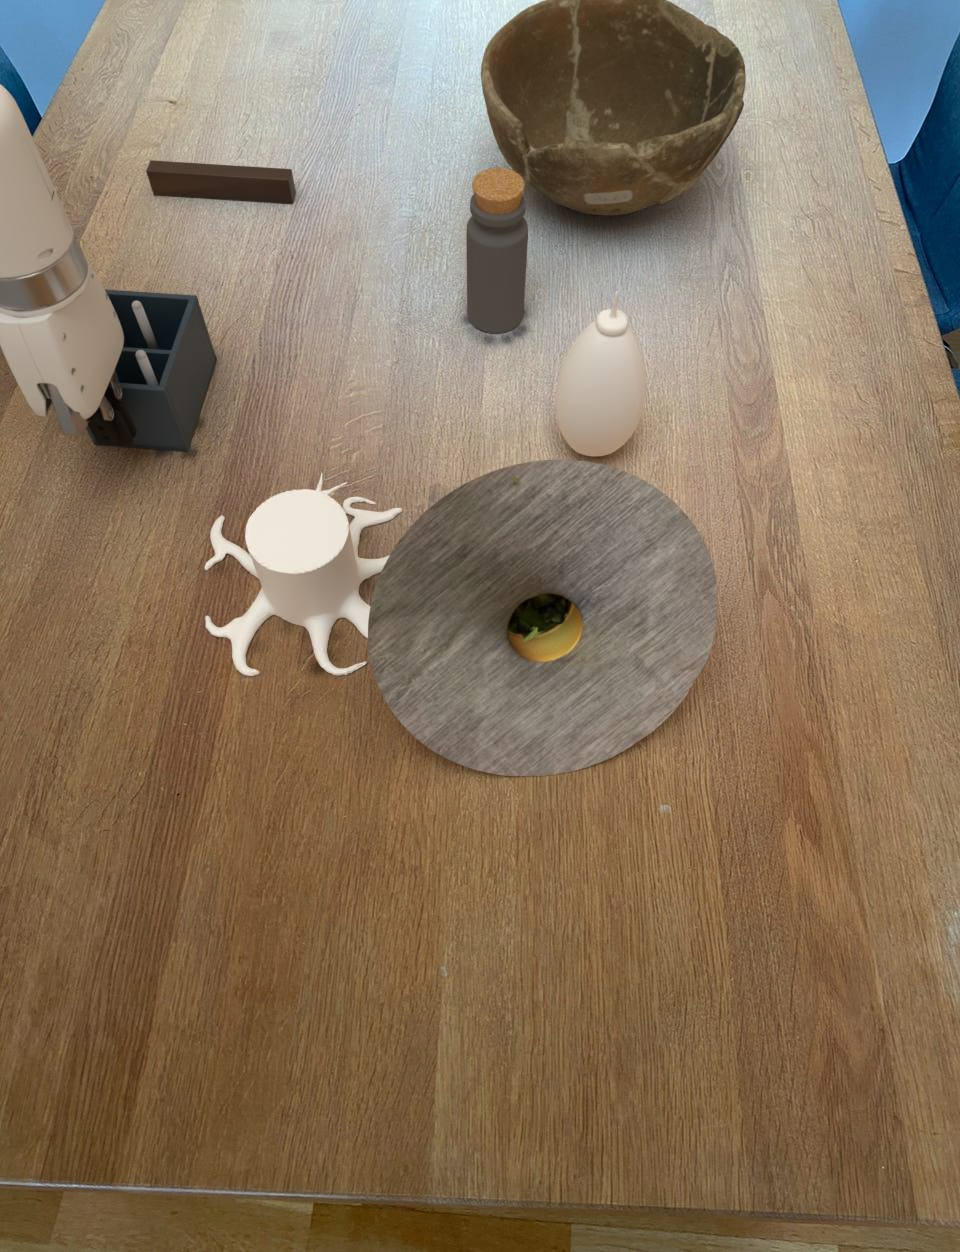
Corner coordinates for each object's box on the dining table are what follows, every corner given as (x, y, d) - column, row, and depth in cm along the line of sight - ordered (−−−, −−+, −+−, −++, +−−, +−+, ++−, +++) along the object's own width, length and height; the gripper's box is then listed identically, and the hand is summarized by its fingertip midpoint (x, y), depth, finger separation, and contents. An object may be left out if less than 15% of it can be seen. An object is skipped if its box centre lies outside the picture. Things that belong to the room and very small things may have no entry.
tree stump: (446, 513, 85) (443, 454, 78) (392, 704, 75) (384, 657, 68) (234, 476, 87) (213, 416, 80) (156, 658, 77) (124, 608, 70)
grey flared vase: (689, 678, 84) (657, 400, 76) (746, 771, 68) (714, 429, 60) (416, 726, 85) (356, 456, 77) (406, 829, 69) (328, 500, 61)
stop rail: (292, 204, 106) (288, 180, 103) (153, 195, 107) (145, 171, 104) (296, 192, 107) (291, 168, 104) (158, 184, 108) (150, 160, 105)
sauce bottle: (639, 475, 87) (675, 324, 71) (555, 479, 87) (572, 329, 71) (626, 411, 91) (658, 255, 75) (546, 415, 91) (561, 259, 75)
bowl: (651, 308, 98) (678, 177, 85) (435, 218, 105) (429, 85, 92) (757, 167, 110) (795, 33, 97) (556, 95, 117) (566, -39, 104)
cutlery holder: (188, 451, 88) (158, 378, 80) (94, 445, 88) (55, 371, 80) (217, 359, 94) (192, 282, 86) (129, 353, 94) (96, 276, 86)
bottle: (527, 298, 99) (535, 166, 86) (518, 337, 96) (525, 207, 83) (472, 291, 99) (472, 159, 86) (462, 330, 96) (460, 200, 83)
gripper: (16, 197, 72) (102, 375, 87) (-61, 335, 64) (49, 502, 80) (112, 202, 71) (181, 380, 87) (46, 342, 64) (135, 509, 79)
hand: (118, 438), depth 83 cm, fingers closed
